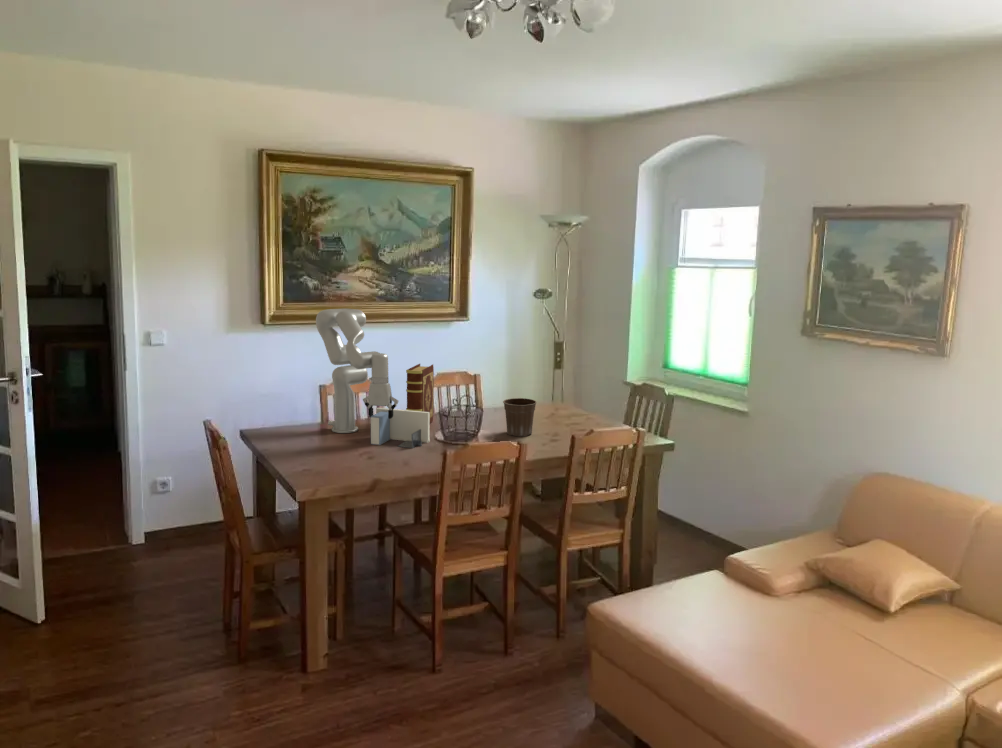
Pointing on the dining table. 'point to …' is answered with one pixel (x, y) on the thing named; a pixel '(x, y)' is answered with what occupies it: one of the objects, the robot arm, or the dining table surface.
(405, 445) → the bookend
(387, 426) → the boxed book
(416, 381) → the decorative book
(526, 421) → the plant pot
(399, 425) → the shelf wall
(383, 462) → the dining table surface
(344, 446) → the dining table surface
